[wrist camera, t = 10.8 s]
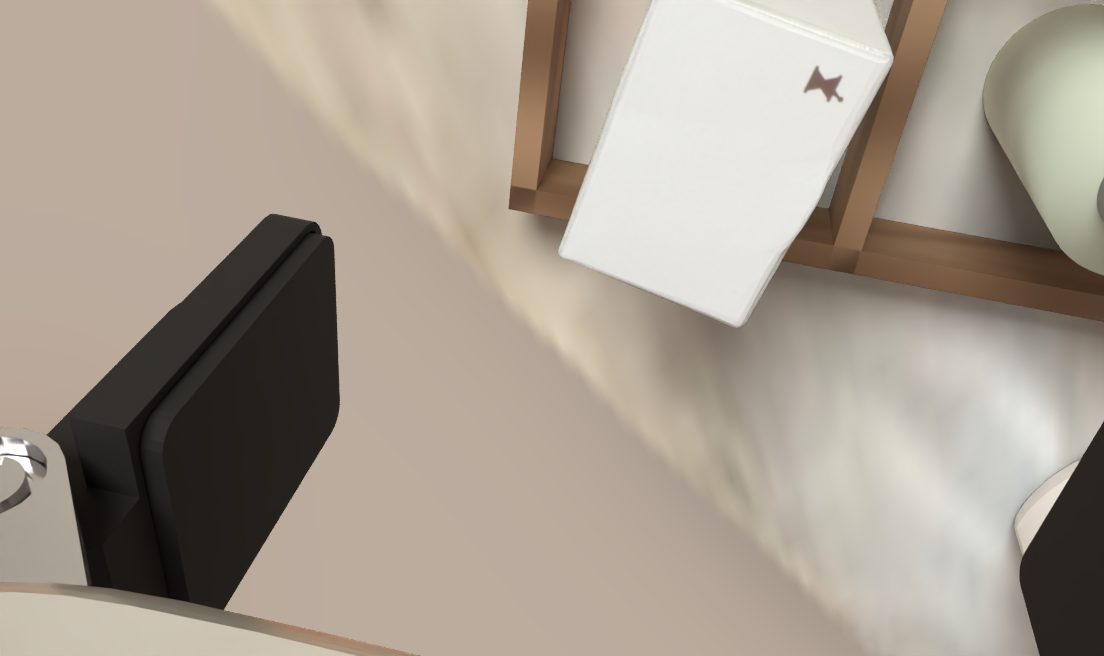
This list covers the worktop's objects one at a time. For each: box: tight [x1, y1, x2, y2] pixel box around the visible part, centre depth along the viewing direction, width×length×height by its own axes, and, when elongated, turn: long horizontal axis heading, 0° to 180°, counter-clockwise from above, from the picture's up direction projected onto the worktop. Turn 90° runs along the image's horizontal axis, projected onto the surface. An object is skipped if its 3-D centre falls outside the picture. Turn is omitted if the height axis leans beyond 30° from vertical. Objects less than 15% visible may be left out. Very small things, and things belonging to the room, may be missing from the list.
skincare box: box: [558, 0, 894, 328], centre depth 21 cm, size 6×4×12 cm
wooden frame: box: [509, 0, 1104, 322], centre depth 25 cm, size 12×20×2 cm, turn 83°
